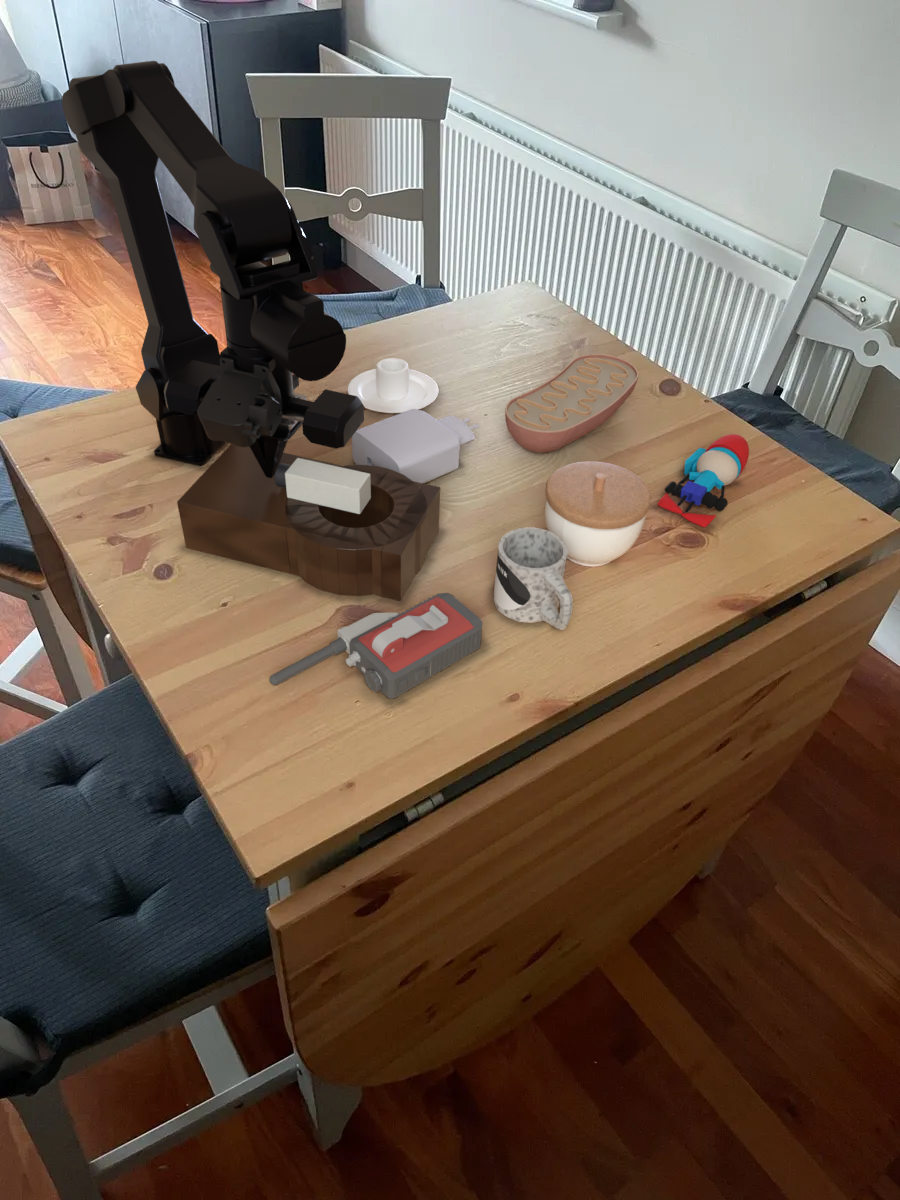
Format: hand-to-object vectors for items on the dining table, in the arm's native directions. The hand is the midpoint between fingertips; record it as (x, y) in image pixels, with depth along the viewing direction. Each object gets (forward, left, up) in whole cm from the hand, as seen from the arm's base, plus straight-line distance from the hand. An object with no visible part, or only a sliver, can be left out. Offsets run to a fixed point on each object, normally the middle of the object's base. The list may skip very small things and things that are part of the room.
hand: (271, 475), depth 94 cm
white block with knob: (+6, 0, -1) cm, 6 cm away
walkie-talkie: (+18, -15, -7) cm, 24 cm away
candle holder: (+1, +32, -7) cm, 33 cm away
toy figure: (+43, +25, -7) cm, 51 cm away
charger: (+10, +19, -7) cm, 23 cm away
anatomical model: (+25, +33, -7) cm, 42 cm away
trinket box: (+32, +9, -7) cm, 34 cm away
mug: (+29, -2, -7) cm, 30 cm away
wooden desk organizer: (+4, 0, -7) cm, 8 cm away
